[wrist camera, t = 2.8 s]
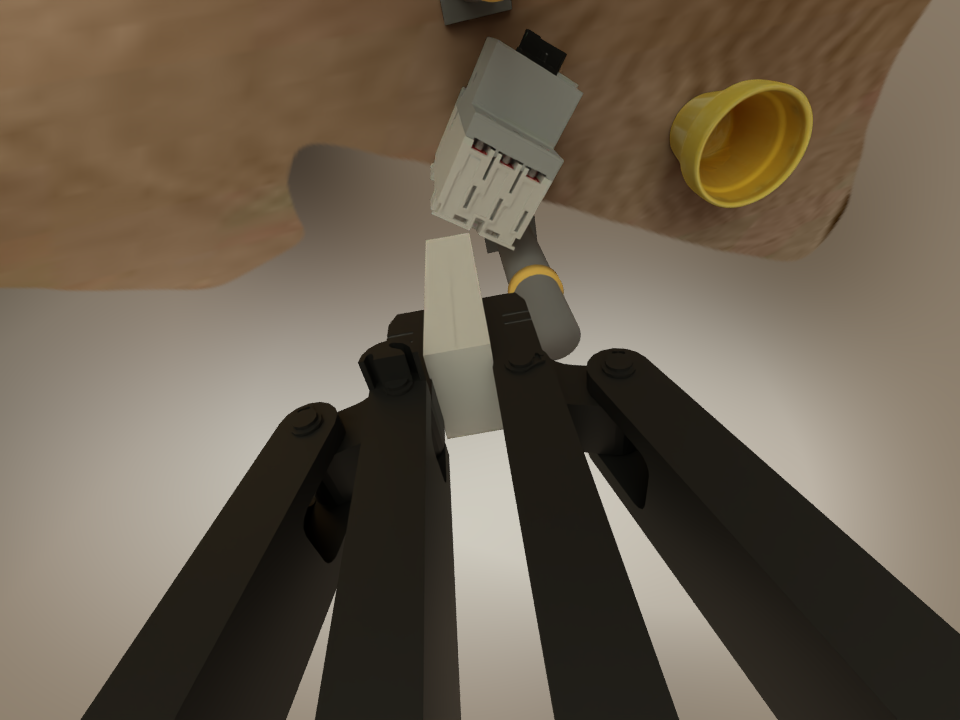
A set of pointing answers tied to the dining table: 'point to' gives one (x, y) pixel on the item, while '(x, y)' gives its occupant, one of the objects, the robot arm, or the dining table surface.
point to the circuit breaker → (503, 139)
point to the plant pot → (741, 140)
